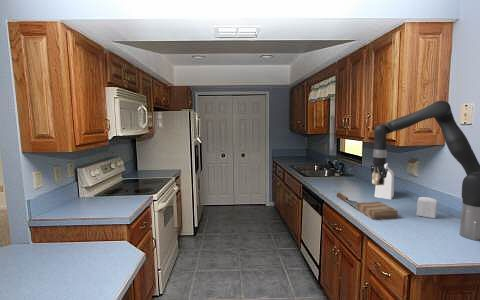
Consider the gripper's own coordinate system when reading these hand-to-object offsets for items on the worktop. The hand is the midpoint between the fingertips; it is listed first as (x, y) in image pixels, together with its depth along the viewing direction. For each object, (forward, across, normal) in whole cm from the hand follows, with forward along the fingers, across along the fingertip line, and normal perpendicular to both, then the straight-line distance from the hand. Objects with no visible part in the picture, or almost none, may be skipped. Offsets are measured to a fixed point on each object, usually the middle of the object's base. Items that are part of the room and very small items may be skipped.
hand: (378, 182), depth 176 cm
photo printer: (+21, -9, -28) cm, 36 cm away
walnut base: (+21, 0, 0) cm, 21 cm away
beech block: (+1, 0, 0) cm, 1 cm away
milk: (+21, +35, -31) cm, 51 cm away
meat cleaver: (+21, +24, +2) cm, 32 cm away
